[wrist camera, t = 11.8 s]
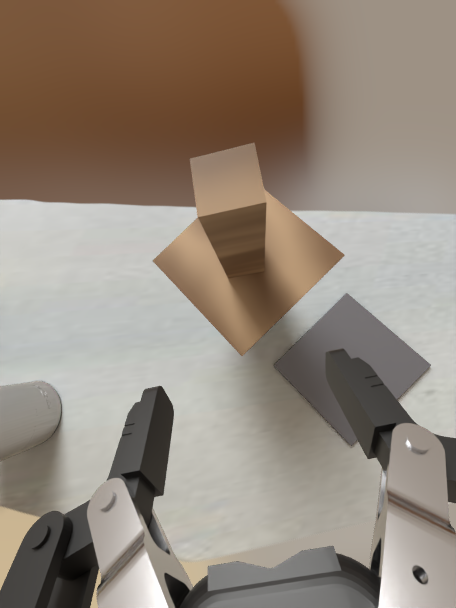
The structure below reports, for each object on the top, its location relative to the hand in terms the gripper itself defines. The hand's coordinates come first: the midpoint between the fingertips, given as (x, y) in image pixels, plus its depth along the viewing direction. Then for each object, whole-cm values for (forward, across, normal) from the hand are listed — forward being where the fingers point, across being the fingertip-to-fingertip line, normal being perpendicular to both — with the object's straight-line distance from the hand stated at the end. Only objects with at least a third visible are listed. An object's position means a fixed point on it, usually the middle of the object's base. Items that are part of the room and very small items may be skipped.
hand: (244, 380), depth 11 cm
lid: (+13, -2, -1) cm, 13 cm away
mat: (+13, -12, +17) cm, 25 cm away
